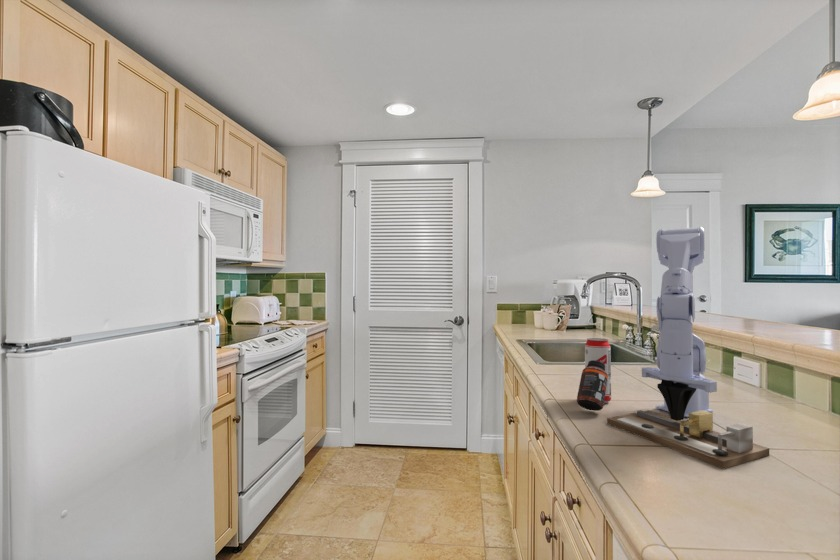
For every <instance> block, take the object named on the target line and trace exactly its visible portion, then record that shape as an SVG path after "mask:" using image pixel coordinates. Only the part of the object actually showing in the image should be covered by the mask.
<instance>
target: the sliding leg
mask: <svg viewBox="0 0 840 560" xmlns="http://www.w3.org/2000/svg"><path fill="white" fill-rule="evenodd" d="M713 415H714V413H713V412H706V411H703V410H701V411H696V412H692V413H689V417H688V419H687V420H681V421H682V422H680V436H681V437H684V426H686V425H689V434H690V435H693V436H696V437H699V438H701V437H703V431H707V432H710V433H713V431H714V430H713V429H714V416H713Z"/></svg>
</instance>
